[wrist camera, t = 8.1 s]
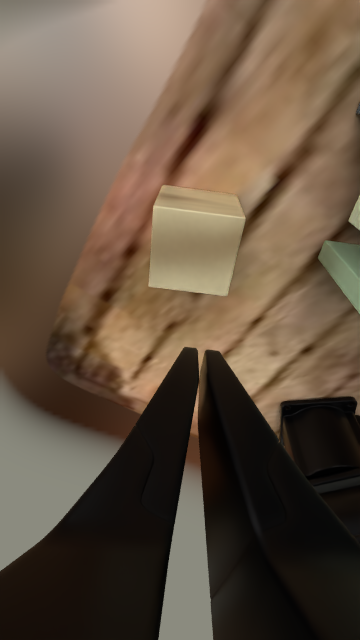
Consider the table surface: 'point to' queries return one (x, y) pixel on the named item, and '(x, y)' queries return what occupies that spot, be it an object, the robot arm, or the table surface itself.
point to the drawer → (345, 262)
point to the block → (195, 240)
